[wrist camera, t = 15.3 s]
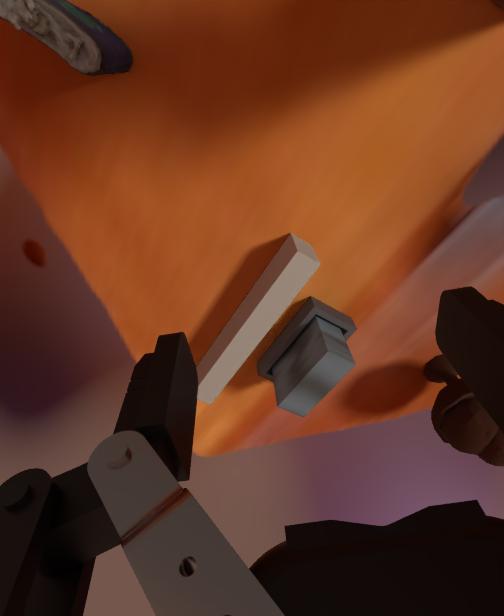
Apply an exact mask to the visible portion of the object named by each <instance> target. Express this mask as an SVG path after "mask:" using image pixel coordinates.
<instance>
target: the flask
mask: <svg viewBox="0 0 504 616" xmlns="http://www.w3.org/2000/svg"><path fill="white" fill-rule="evenodd" d="M0 18H1V19H3V20H6V21H8V22H10V23H11V24H13V25H14V27H15V28H16V29H17V30H21V29H22V30H23V31H25V32H26V33H28V34H30V35H31V36H33V37H35V38H36V39H38V40H39V41H41V42H42V43H44V44H45V45H47V46H48V47H49V48H51V49H52V50H53V51H55V52H56V53H57V54H58V55H60V56H61V57H62V58H63V59H64V60H65V61H66V62H67V63H68V64H69V65H70V66H72V67H73V68H74V69H75V70H77V71H78V72H80V73H82V74H86V75H90V76H95V75H101V74H115V73H125V72H130V70H129V69H130V68H131V66H132V63H133V54H132V52H131V50H130V48H129V47H128V46H127V45H126V44H125V42H124V41H123V40H122V39H121V38H120V37H119V36H118V35H116V34H115V33H114V32H113V31H112V30H111V29H110V28H109V27H106V26H105V25H104V23H103V22H101V21H100V20H98V19H97V18H95V17H93V16H92V15H91V14H90V13H88V12H86V11H84V10H81V9H80V8H79V7H76V6H75V5H73V4H71V3H70V2H68V1H66V0H0Z"/></svg>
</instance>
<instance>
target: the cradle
mask: <svg viewBox="0 0 504 616" xmlns="http://www.w3.org/2000/svg"><path fill="white" fill-rule="evenodd" d="M315 314H317V315H319V316H321V317H323V318H325V319H326V320H328V321H330V322H332V323H334V324H336V325H338V326H339V327H340V330H341V332H342V334H343V336H344V339H345V341H346V340H347V339H348V338H349V337H350V336H351V335H352V334H353V333H354V332H355V331H356V330H357V328H356V326H355V324H354V322H353V320H352V318H350V317H348V316H346V315H345V314H343V313H341V312H339V311H337V310H335V309H334V308H332V307H330V306H328V305H326V304H324V303H322V302H321V301H319V300H317V299H315V298H313V297H310V298H309V299H308V301H307V302H306V303H305V304H304V305H303V307H302V308H301V309H300V310H299V312H298V313H297V314H296V315H295V317H294V318H293V319H292V320H291V322H290V323H289V324H288V325H287V326H286V328H285V329H284V330H283V331H282V333H281V334H280V335H279V336H278V338H277V339H276V340H275V341H274V343H273V344H272V345H271V346H270V348H269V349H268V350H267V351H266V352H265V354H264V355H263V356H262V357H261V359H260V360H259V361H258V362H257V370H258V375H259V376H262V377H264V378H266V379H269V380H271V381H273V382H274V380H273V373H272V366H273V364H274V363H275V362H276V361H277V360H278V358H279V357H280V356H281V355H282V354H283V352H284V351H285V350H286V349H287V348H288V347H289V345H290V344H291V343H292V342H293V341H294V339H295V338H296V337H297V336H298V335H299V333H300V332H301V331H302V330H303V329H304V328H305V326H306V325H307V324H308V323H309V322H310V320H311V319H312V318H313V317H314V316H315Z"/></svg>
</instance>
